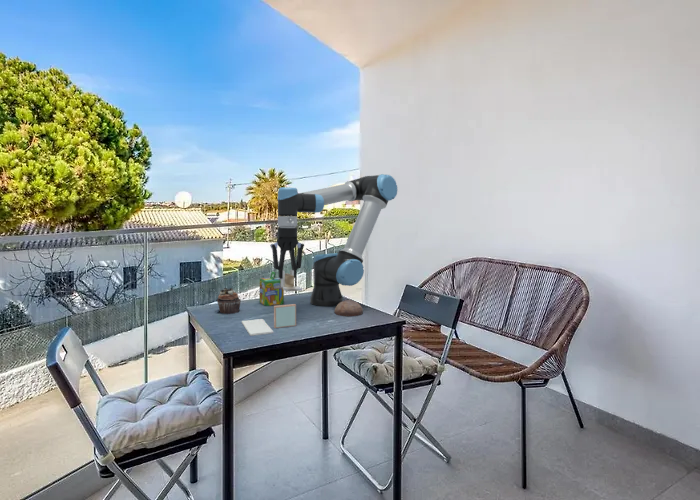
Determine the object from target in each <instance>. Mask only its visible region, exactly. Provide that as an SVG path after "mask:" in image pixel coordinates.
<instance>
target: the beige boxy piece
mask: <svg viewBox="0 0 700 500" xmlns="http://www.w3.org/2000/svg"><path fill="white" fill-rule="evenodd" d="M283 290H284V292H288V293H289V292H300V291H302V290H303V288H302V287H300V286H295V278H294V276H293V275H291V274H290V273H288V272H287V273H286V272H285V287H283Z"/></svg>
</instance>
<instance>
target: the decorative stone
mask: <svg viewBox="0 0 700 500" xmlns="http://www.w3.org/2000/svg"><path fill="white" fill-rule="evenodd" d="M363 311H364V309H363V307H362V305H361V304H360V303H359V302H357V301H355V300H352V299H345V300H343V301H342V302H340V303H339V304H338V305H335V308H334V313H333V314H336V315H337V316H341V317H356V316H357V317H358V316H361V315H362V314H363Z"/></svg>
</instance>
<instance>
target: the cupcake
mask: <svg viewBox="0 0 700 500" xmlns="http://www.w3.org/2000/svg"><path fill="white" fill-rule="evenodd" d="M241 301H242V299H240V297H239V294H238V293H237V292H236V291H235V290H234V288H232V287H230V288H227V287H224V288H223V289H221V290H220V291H219V295H218V297H217V299H216V302H217V304H218V310H219V313H220V314H222V315H231V314H237V313H239V312H240V309H241V308H240V307H241Z"/></svg>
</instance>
